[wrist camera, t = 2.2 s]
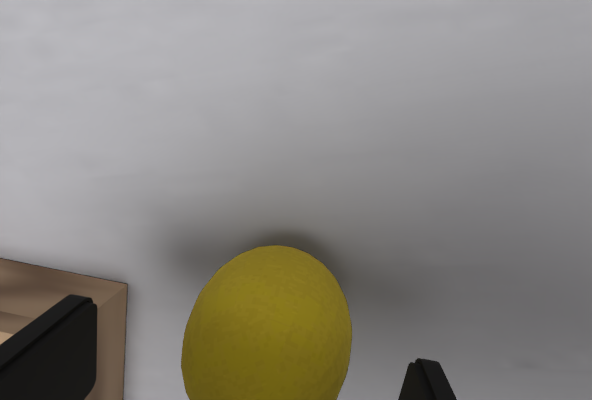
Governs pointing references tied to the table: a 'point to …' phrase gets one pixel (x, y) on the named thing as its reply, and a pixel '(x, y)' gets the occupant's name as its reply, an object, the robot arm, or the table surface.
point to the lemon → (268, 330)
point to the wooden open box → (53, 288)
